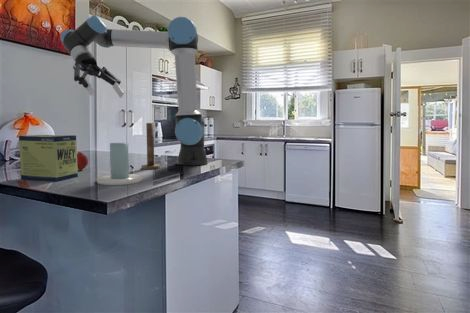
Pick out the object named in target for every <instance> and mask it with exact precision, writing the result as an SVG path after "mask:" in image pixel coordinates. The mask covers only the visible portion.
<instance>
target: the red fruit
mask: <svg viewBox="0 0 470 313" xmlns="http://www.w3.org/2000/svg"><path fill="white" fill-rule="evenodd" d="M88 164H89V160H88V157H87V156H86V155H85V154H84V153H82V152H81V151H80V150H79V151H77V167H78V171H82V170H84V169H86V167H87V166H88Z"/></svg>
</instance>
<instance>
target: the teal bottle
mask: <svg viewBox="0 0 470 313" xmlns="http://www.w3.org/2000/svg"><path fill="white" fill-rule="evenodd" d="M129 156H130V155H129V142H110V143H109V158H110V159H109V164H110V166H109V167H110V175H111V179H126V178H129V174H130V166H129V164H130V161H129Z"/></svg>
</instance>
